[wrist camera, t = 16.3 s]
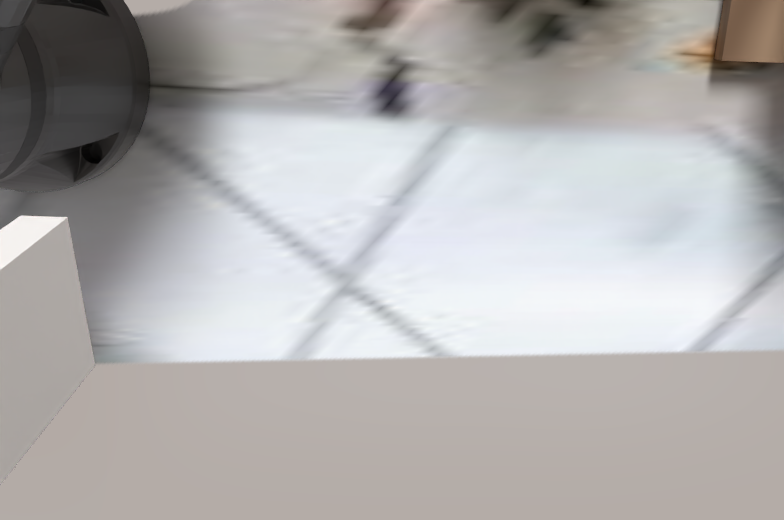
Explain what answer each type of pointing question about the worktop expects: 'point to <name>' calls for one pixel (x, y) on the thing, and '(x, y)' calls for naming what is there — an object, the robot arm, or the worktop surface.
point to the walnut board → (751, 31)
